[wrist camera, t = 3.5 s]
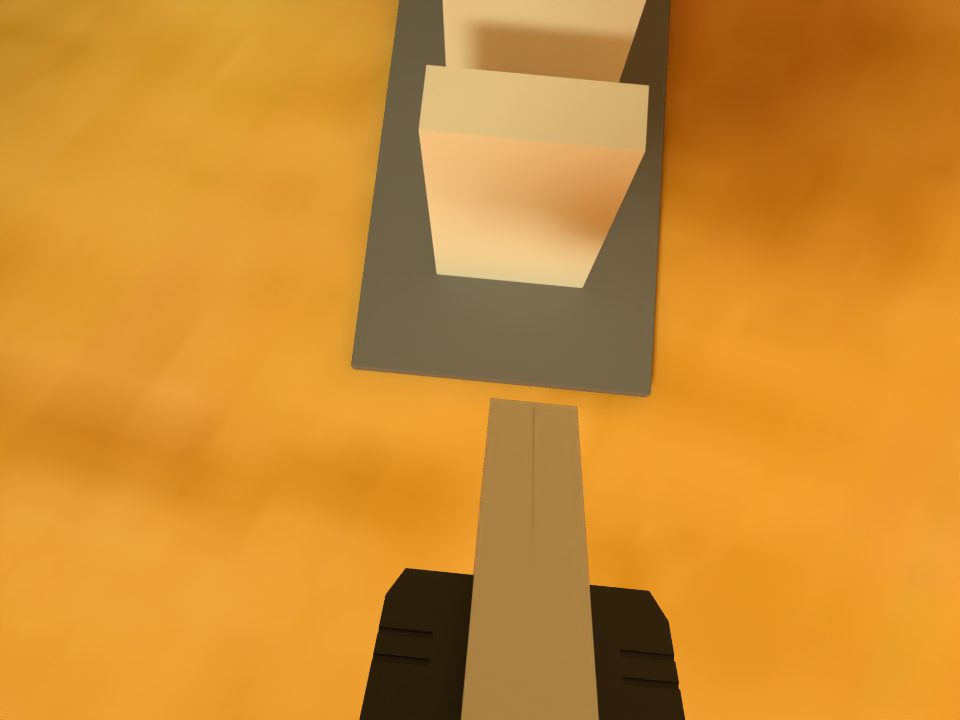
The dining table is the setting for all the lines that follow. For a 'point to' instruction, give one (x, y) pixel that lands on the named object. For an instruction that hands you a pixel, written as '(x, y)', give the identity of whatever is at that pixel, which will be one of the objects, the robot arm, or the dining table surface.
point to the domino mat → (496, 303)
